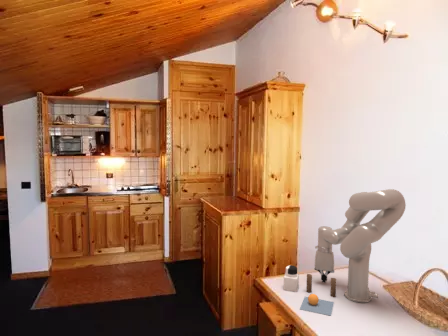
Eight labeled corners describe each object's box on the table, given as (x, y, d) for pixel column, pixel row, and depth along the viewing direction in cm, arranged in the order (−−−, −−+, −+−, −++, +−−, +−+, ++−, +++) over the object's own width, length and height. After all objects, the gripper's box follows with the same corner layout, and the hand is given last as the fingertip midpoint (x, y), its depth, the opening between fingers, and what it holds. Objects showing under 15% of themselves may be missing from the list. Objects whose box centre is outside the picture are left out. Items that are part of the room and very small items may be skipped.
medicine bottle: (298, 286, 175) (299, 265, 175) (297, 292, 169) (297, 269, 168) (285, 284, 178) (285, 263, 177) (283, 290, 171) (283, 268, 170)
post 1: (311, 291, 170) (312, 274, 170) (311, 293, 168) (311, 276, 167) (306, 290, 171) (307, 273, 171) (306, 292, 169) (306, 275, 168)
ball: (317, 308, 154) (319, 299, 158) (317, 302, 151) (319, 293, 155) (307, 305, 156) (309, 296, 160) (306, 299, 153) (308, 290, 157)
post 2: (336, 295, 165) (336, 278, 165) (335, 297, 163) (336, 280, 162) (330, 294, 166) (331, 277, 166) (330, 296, 164) (330, 279, 163)
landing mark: (333, 302, 158) (333, 301, 158) (330, 315, 145) (330, 315, 145) (304, 296, 163) (304, 296, 163) (299, 309, 151) (299, 309, 151)
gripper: (309, 249, 177) (309, 281, 178) (338, 253, 171) (337, 286, 172) (312, 245, 184) (311, 276, 185) (339, 249, 178) (338, 281, 179)
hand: (324, 281), depth 179 cm, fingers closed
